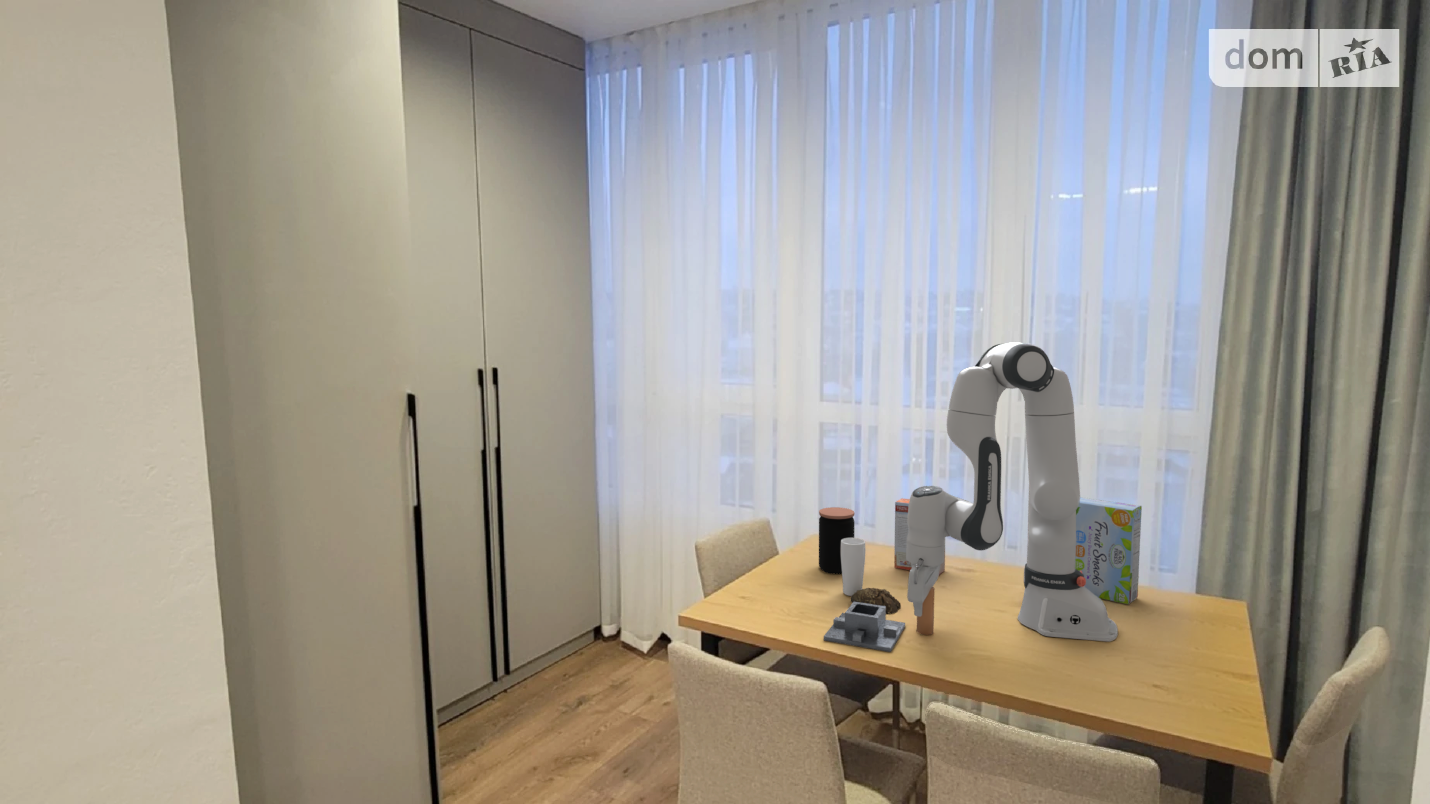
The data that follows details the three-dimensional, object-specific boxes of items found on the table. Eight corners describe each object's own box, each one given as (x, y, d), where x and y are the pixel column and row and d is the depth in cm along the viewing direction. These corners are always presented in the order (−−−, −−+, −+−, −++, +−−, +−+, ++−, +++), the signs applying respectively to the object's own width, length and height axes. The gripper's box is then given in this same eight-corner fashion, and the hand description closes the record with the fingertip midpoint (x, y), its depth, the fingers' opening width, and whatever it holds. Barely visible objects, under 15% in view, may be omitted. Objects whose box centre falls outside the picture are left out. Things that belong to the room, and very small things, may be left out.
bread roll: (845, 600, 210) (845, 582, 209) (887, 595, 213) (887, 578, 212) (866, 618, 198) (866, 599, 197) (909, 612, 201) (910, 594, 200)
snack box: (1139, 597, 209) (1144, 504, 206) (1129, 606, 202) (1134, 511, 199) (1056, 579, 223) (1060, 492, 221) (1045, 587, 217) (1048, 498, 214)
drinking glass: (866, 597, 210) (867, 544, 209) (842, 598, 211) (842, 544, 209) (862, 589, 217) (863, 537, 215) (838, 589, 217) (839, 537, 216)
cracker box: (945, 570, 232) (947, 502, 230) (938, 576, 227) (940, 507, 225) (900, 562, 240) (901, 497, 238) (893, 568, 235) (894, 501, 233)
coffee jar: (859, 567, 236) (860, 509, 234) (845, 577, 227) (846, 517, 225) (827, 561, 242) (827, 505, 240) (812, 571, 233) (813, 513, 231)
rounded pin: (934, 629, 189) (935, 586, 188) (931, 636, 185) (932, 591, 184) (918, 627, 191) (919, 584, 189) (915, 633, 187) (915, 589, 186)
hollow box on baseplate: (905, 626, 191) (905, 603, 190) (890, 652, 177) (891, 627, 176) (842, 616, 198) (842, 593, 197) (823, 640, 183) (823, 616, 183)
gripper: (929, 568, 175) (927, 626, 177) (945, 544, 194) (943, 597, 195) (901, 564, 178) (899, 621, 180) (920, 540, 196) (918, 592, 198)
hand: (922, 608), depth 188 cm, fingers open, 8 cm apart
